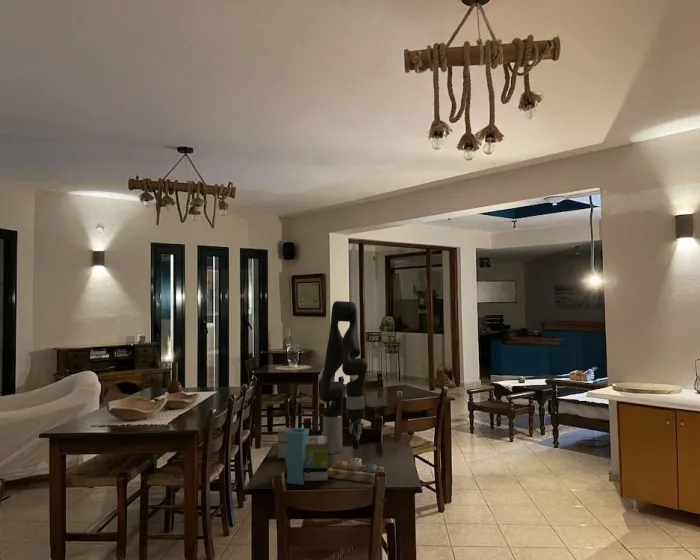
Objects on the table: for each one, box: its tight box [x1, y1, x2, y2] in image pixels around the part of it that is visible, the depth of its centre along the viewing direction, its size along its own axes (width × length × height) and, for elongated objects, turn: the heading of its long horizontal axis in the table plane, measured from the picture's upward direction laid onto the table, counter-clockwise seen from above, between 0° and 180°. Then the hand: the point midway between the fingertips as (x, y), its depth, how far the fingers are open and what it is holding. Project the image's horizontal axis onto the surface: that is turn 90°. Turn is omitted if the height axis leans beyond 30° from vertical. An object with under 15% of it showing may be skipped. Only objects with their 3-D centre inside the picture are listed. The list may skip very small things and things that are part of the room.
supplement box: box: [277, 427, 293, 459], centre depth 249 cm, size 7×7×13 cm
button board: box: [327, 462, 385, 484], centre depth 221 cm, size 21×11×3 cm, turn 69°
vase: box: [284, 427, 310, 485], centre depth 216 cm, size 8×8×20 cm
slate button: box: [364, 463, 377, 473], centre depth 218 cm, size 5×5×4 cm
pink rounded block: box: [335, 460, 348, 470], centre depth 223 cm, size 5×5×4 cm
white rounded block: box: [349, 457, 363, 471], centre depth 221 cm, size 5×5×4 cm
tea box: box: [303, 435, 329, 482], centre depth 222 cm, size 15×10×15 cm, turn 5°
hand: (356, 448), depth 221 cm, fingers closed
